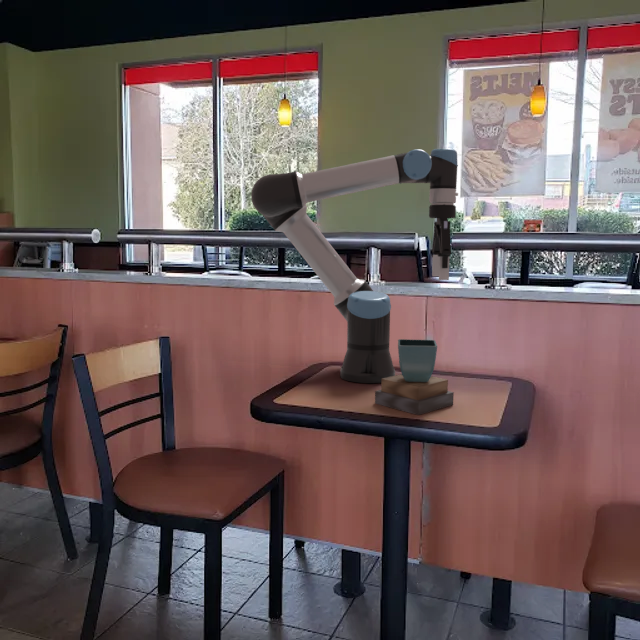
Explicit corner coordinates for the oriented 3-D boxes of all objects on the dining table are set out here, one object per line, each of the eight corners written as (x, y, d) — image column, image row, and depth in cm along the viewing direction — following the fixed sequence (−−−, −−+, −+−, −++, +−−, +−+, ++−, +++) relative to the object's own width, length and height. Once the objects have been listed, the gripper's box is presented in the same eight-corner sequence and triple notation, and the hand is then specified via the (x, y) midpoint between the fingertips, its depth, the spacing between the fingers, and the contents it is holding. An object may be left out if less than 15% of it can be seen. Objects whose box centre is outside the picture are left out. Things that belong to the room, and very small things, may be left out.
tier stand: (374, 403, 153) (375, 378, 153) (410, 394, 162) (410, 370, 161) (418, 415, 144) (419, 388, 143) (453, 404, 153) (454, 379, 152)
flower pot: (397, 375, 156) (397, 338, 155) (434, 376, 155) (435, 339, 154) (396, 383, 147) (397, 345, 146) (436, 385, 146) (437, 346, 145)
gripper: (463, 202, 174) (460, 281, 177) (448, 205, 199) (446, 275, 202) (435, 202, 174) (433, 281, 177) (424, 205, 199) (422, 274, 202)
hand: (440, 278), depth 190 cm, fingers open, 13 cm apart
